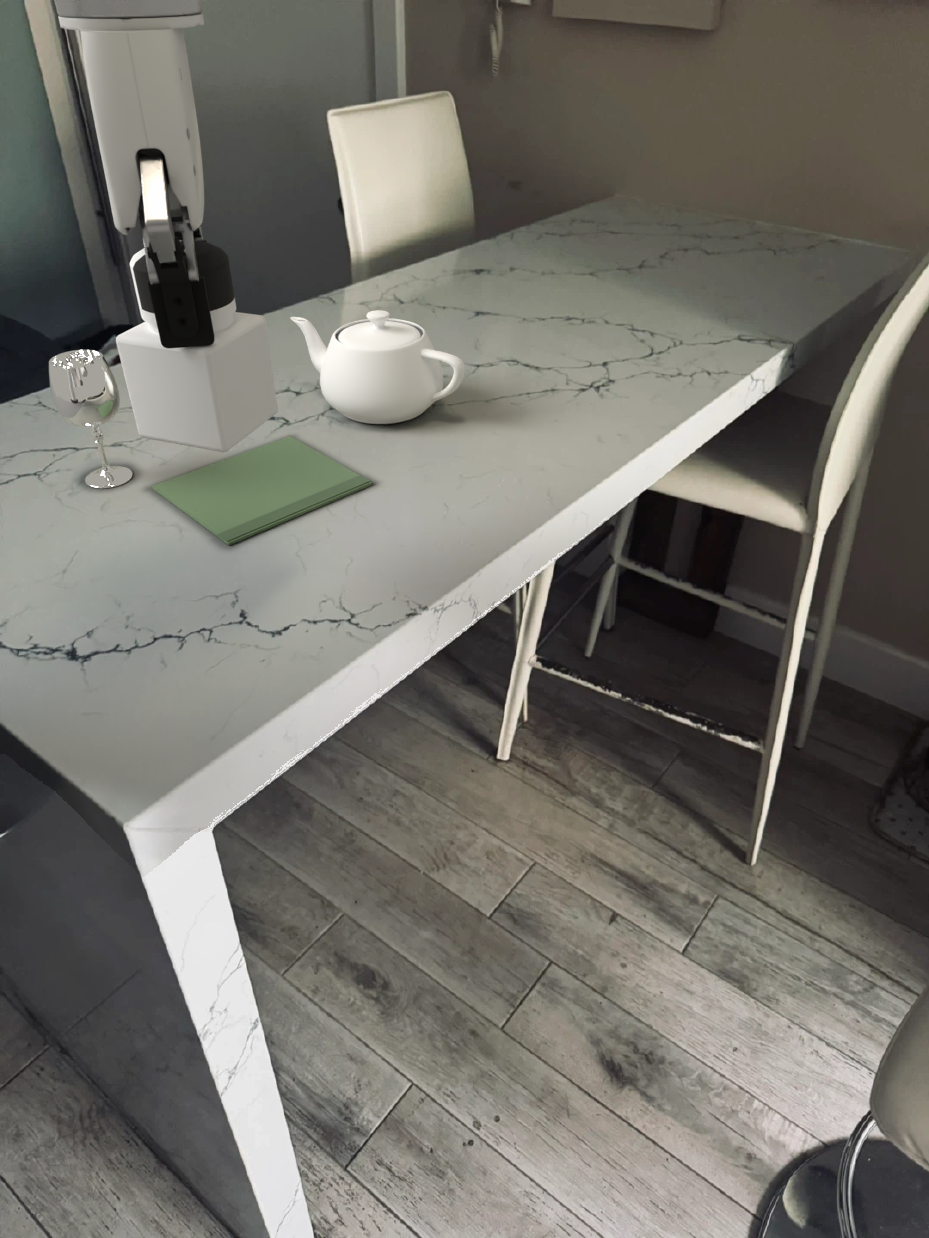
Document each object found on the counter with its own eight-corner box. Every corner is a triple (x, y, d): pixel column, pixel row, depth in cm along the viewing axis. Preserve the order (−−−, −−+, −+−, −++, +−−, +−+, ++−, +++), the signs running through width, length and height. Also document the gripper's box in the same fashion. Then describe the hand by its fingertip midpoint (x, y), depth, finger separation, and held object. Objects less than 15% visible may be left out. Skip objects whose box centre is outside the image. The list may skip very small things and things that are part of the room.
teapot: (491, 402, 100) (492, 308, 94) (433, 450, 91) (430, 349, 84) (331, 369, 108) (323, 280, 102) (263, 410, 99) (249, 314, 92)
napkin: (228, 545, 76) (228, 542, 76) (152, 488, 84) (151, 485, 84) (372, 484, 85) (372, 481, 85) (290, 438, 93) (289, 435, 93)
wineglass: (151, 473, 87) (123, 355, 79) (104, 497, 83) (70, 376, 76) (113, 459, 89) (81, 343, 82) (65, 481, 85) (28, 362, 78)
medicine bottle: (280, 413, 63) (256, 238, 56) (226, 455, 58) (192, 268, 51) (196, 399, 65) (163, 228, 58) (137, 438, 60) (92, 256, 53)
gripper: (75, -11, 53) (142, 287, 64) (23, 2, 39) (119, 378, 50) (203, -12, 54) (247, 280, 65) (195, 0, 41) (252, 367, 51)
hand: (190, 321), depth 57 cm, fingers closed on medicine bottle, 7 cm apart
